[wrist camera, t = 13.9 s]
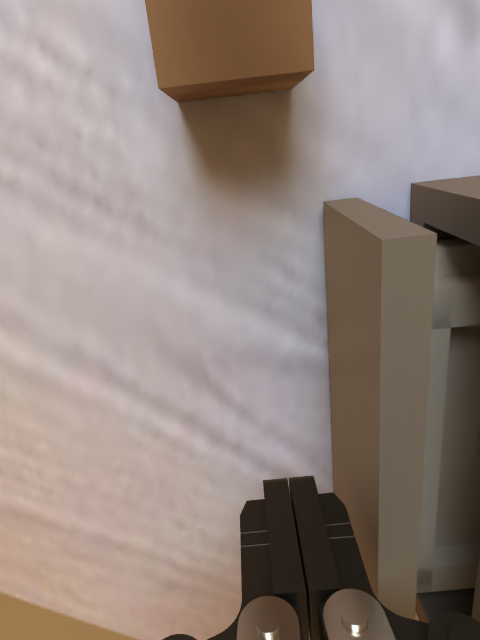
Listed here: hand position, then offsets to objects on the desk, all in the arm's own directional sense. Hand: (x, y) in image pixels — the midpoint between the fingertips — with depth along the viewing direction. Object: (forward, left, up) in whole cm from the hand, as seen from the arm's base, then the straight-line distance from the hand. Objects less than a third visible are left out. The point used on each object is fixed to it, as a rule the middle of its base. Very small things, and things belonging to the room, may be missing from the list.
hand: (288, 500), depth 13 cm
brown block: (0, +13, -4) cm, 13 cm away
